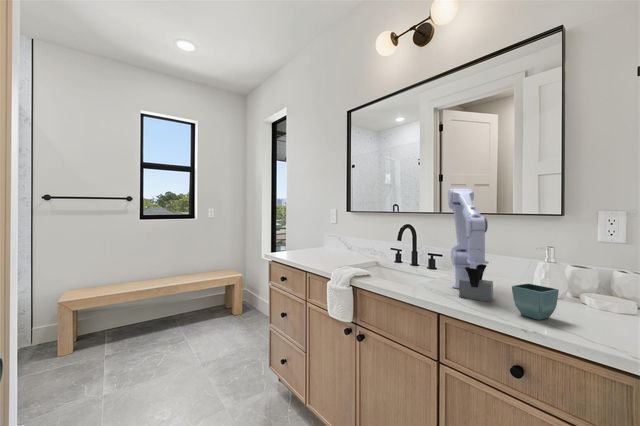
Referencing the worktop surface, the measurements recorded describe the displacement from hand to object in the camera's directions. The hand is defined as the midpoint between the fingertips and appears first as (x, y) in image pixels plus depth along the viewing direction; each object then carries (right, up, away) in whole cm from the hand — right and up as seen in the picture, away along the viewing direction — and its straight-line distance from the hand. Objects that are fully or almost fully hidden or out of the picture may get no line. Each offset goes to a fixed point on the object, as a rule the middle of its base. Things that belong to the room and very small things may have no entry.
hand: (476, 284), depth 106 cm
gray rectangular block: (0, -5, 0) cm, 5 cm away
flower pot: (+7, -5, -20) cm, 22 cm away
